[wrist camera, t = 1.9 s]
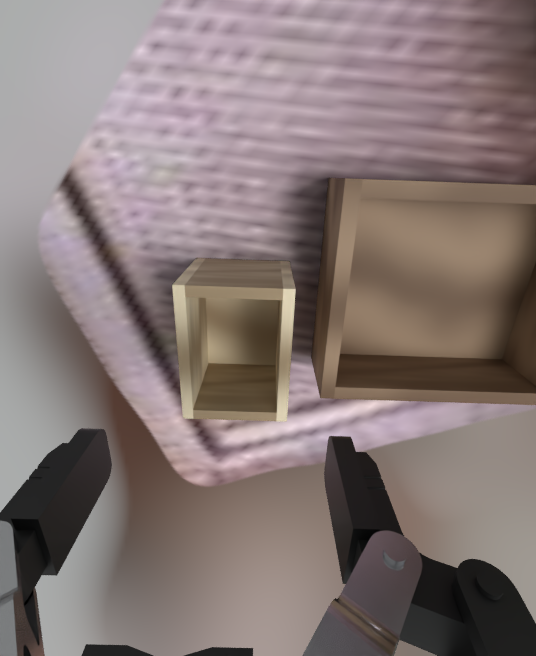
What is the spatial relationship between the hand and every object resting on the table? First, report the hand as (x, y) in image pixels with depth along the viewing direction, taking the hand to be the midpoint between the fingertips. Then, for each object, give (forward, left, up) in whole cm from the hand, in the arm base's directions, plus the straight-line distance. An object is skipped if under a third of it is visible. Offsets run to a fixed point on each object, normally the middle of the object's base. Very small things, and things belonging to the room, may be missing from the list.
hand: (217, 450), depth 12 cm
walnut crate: (-3, +12, -13) cm, 18 cm away
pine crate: (0, 0, -13) cm, 13 cm away
